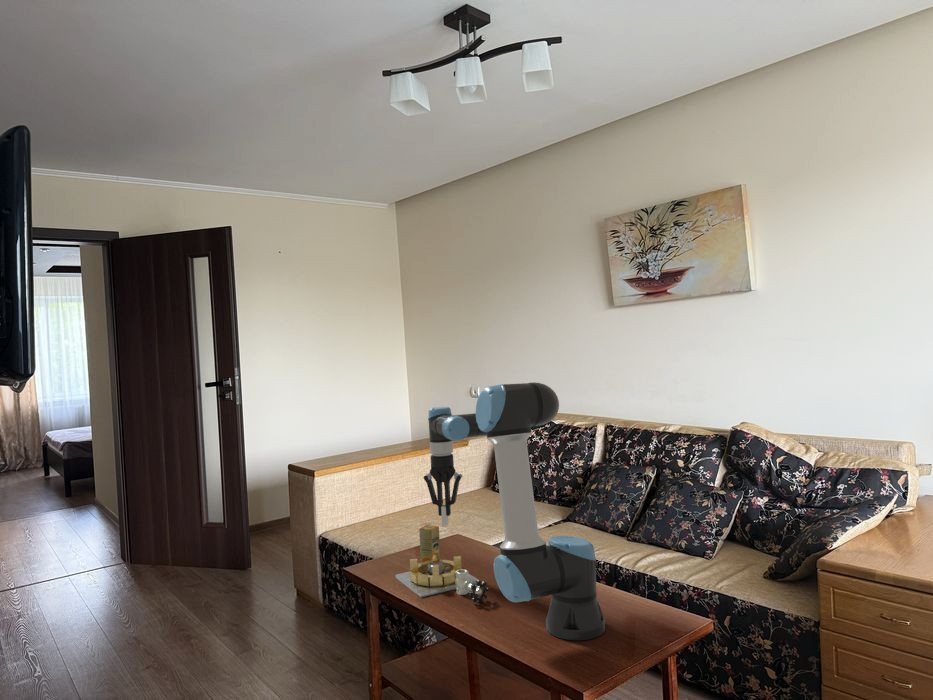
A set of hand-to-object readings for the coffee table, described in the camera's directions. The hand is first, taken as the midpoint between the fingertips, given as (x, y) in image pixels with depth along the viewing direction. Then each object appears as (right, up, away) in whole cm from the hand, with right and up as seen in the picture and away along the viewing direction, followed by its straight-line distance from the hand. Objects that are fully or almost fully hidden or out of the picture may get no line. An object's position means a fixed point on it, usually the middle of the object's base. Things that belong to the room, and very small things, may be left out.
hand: (445, 525), depth 212 cm
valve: (+8, -16, -21) cm, 27 cm away
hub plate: (-3, -16, -6) cm, 17 cm away
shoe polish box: (-5, -16, +12) cm, 21 cm away
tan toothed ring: (-3, -15, -6) cm, 16 cm away
